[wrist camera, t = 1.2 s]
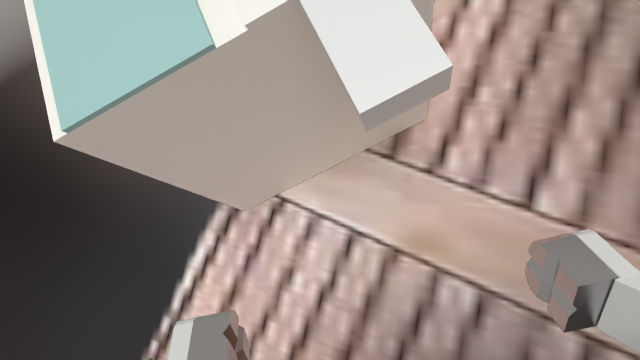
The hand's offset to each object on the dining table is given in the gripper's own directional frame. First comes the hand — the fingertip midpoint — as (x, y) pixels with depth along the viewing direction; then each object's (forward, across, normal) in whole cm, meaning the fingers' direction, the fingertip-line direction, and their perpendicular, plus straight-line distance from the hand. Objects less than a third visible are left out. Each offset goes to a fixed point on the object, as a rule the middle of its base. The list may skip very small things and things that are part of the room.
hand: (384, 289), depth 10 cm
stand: (+36, 0, +11) cm, 38 cm away
